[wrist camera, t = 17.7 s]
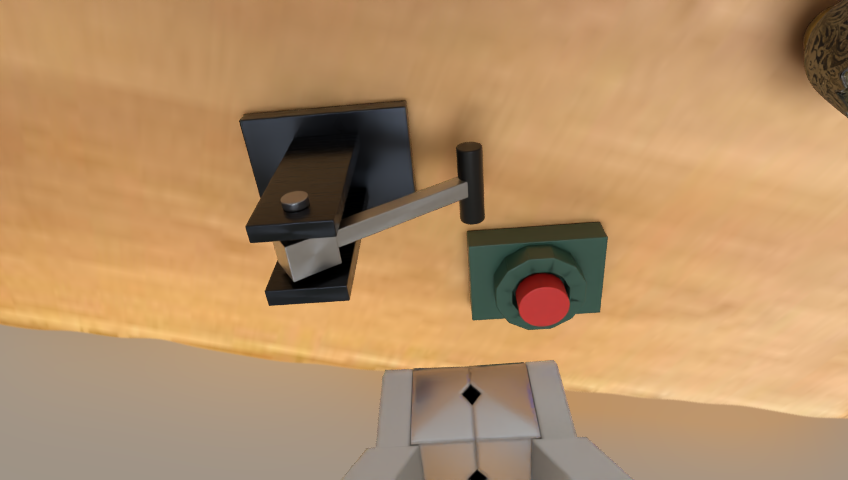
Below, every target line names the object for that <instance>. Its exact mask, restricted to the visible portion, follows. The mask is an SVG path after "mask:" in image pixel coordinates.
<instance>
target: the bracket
mask: <svg viewBox="0 0 848 480" xmlns="http://www.w3.org/2000/svg"><path fill="white" fill-rule="evenodd" d="M239 122H240V126H241V129H242V133H243V137H244V140H245V144H246V147H247V151H248V155H249V158H250V162H251V166H252V169H253V173H254V176H255V180H256V184H257V187H258V191H259V195H260V198H261V199H260V201H259V202H258V204H257V206H256V208H255V210H254V212H253V213H252V215H251V217H250V219H249V221H248V223H247V224H246V231H247V234H248V237H249V241H250V243H258V242H272V241H286V240H299V239H313V238H327V237H336V236H337V233H338V229H339V226H340V222H341V219H344V218H346V217H349V216H352V215H355V214H357V213H360V212H363V211H366V210H368V209H371V208H374V207H376V206H379V205H382V204H385V203H387V202H390V201H393V200H396V199H398V198H401V197H404V196H406V195H409V194H412V193H415V192H416V185H415V176H414V166H413V157H412V148H411V138H410V129H409V119H408V110H407V102H406V101H394V102H382V103H370V104H359V105H347V106H335V107H323V108H311V109H299V110H287V111H276V112H264V113H252V114H244V115H243V117H242V118H241V119H240V120H239ZM360 243H361V239H359V240H357V241H354V242H352V243H349V244H347V245H344V246H341V247H339V251H340V256H341V261H342V263H341V264H338V265H336V266H333V267H331V268H328V269H326V270H323V271H321V272H318V273H316V274H313V275H311V276H308V277H306V278H304V279H301V280H299V281H296V282H293V280H292V279H291V278H290V277H289V275H288V274H287V273H286V271H285V270H284V269H283V267H282V266H281V265H280V264H279V262H278V260H277V263H276V265H275V268H274V270H273V272H272V275H271V277H270V280H269V282H268V285H267V287H266V290H265V294H266V297H267V301H268V304H269V306H273V305H288V304H303V303H319V302H334V301H349V300H350V295H351V290H352V285H353V280H354V274H355V269H356V264H357V259H358V254H359V248H360Z"/></svg>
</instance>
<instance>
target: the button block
mask: <svg viewBox="0 0 848 480" xmlns="http://www.w3.org/2000/svg"><path fill="white" fill-rule="evenodd" d="M607 240H608V237H607V235H606V233H605V231H604V229H603V227H602V225H601V223H600V222H592V223H578V224H564V225H550V226H536V227H522V228H508V229H494V230H480V231H467V245H468V263H469V281H470V299H471V311H472V320H487V319H503V318H505V319H506V320H507V321H508V322H509V323H511V324H514V325H517V326H519V327H522V328H525V329H527V330H535V329H551V328H553V327H555V326H557V325H559V324H561V323H563V322H566V321H568V320H570V319H571V318H573V316H574V315H575V314H582V313H598V312H600V307H601V297H602V288H603V278H604V268H605V259H606V249H607ZM537 273H548V274H552V275H554V276H556V277H558V278H559V279H560V280H561V281H562V282H563V284H564V287H565V289H566V292H567V295H568V298H569V302H570V306H569V310H568V312H567V314H566V316H565V317H564V318H563V319H562V320H560V321H559V322H557V323H555V324H553V325H549V326H534V325H531V324H529V323H527V322H526V321H524V320H523V319H522V317H521V316H520V314H519V310H518V305H517V301H516V289H517V287H518V285H519V284H520V283H521V281H522V280H524V279H525V278H526V277H528V276H530V275H533V274H537Z"/></svg>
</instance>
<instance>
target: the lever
mask: <svg viewBox="0 0 848 480" xmlns="http://www.w3.org/2000/svg"><path fill="white" fill-rule="evenodd" d="M456 155H457V171H458V177H456V178H453V179H450V180H447V181H445V182H442V183H439V184H436V185H434V186H431V187H428V188H426V189H423V190H420V191H417V192H415V193H412V194H409V195H406V196H404V197H401V198H398V199H396V200H393V201H390V202H387V203H385V204H382V205H379V206H376V207H374V208H371V209H368V210H366V211H363V212H360V213H357V214H355V215H352V216H349V217H346V218H344V219H341V222H340V226H339V229H338V233H337V236H336V237H327V238H313V239H299V240H286V241H273V244H274V248H275V251H276V255H277V259H278V262H279V264H280V265H281V266H282V267H283V269H284V270H285V271H286V273H287V274H288V275H289V277H290V278H291V279H292V280H293V282H296V281H299V280H301V279H304V278H306V277H308V276H311V275H313V274H316V273H318V272H321V271H323V270H326V269H328V268H331V267H333V266H336V265H338V264H341V263H342V261H341V256H340V251H339V247H341V246H344V245H347V244H349V243H352V242H354V241H357V240H359V239H362V238H365V237H367V236H370V235H372V234H375V233H377V232H380V231H383V230H385V229H388V228H390V227H393V226H395V225H398V224H401V223H403V222H406V221H408V220H411V219H413V218H416V217H419V216H421V215H424V214H426V213H429V212H431V211H434V210H437V209H439V208H442V207H444V206H447V205H449V204H452V203H455V202H457V201H459V204H460V219H461V221H462V222H463V223H466V224H478V223H481V222H482V221H483V220H484V218H485V212H484V183H483V153H482V145H481V144H480V143H477V142H464V143H461V144H459V145H458V146H457V147H456Z"/></svg>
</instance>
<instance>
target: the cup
mask: <svg viewBox="0 0 848 480" xmlns="http://www.w3.org/2000/svg"><path fill="white" fill-rule="evenodd" d="M803 48H804V52H805V54H804V67H805V71H806V74H807V77H808V79H809V81H810V83H811V84H812V86H813V87H814V88H815V90H816V91H817V92H818V93H819V94H820V95H821V96H822V97H823V98H824V99H825V100H826V101H828V102H829V103H830V104H831V105H832V106H834V107H835V108H836V109H837V110H839V111H840V112H841V113H842V114H844V115H845V116H846V117H847V118H848V0H842V1H840V2H839V3H838V4H836V5H835V6H832V7H830V8H828V9H826V10H824V11H822V12H821V13H820V14H818V15H817V16H816V17H815V18H814V19H813V20H812V22H811V23H810V24H809V26H808V27H807V29H806V31H805V34H804V38H803Z"/></svg>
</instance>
